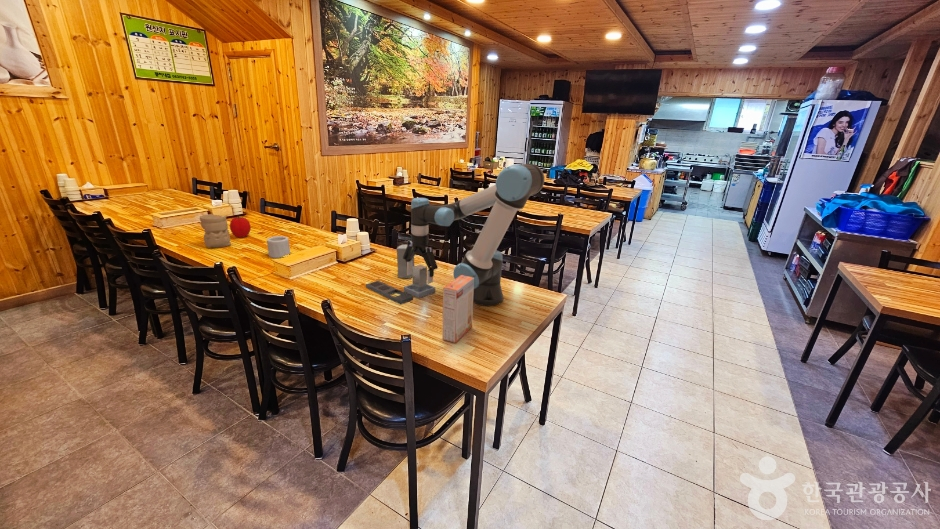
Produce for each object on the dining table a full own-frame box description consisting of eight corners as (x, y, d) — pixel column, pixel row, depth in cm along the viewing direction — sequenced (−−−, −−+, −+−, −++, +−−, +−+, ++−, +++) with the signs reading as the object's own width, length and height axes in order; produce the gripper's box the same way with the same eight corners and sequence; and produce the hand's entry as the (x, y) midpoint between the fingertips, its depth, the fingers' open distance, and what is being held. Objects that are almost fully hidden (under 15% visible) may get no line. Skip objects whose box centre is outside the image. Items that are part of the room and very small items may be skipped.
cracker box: (458, 323, 146) (461, 273, 139) (472, 327, 143) (475, 277, 136) (440, 339, 134) (442, 286, 127) (455, 344, 131) (457, 290, 124)
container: (217, 242, 224) (211, 213, 218) (236, 244, 223) (231, 214, 217) (200, 248, 213) (193, 217, 207) (220, 250, 211) (214, 219, 205)
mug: (294, 255, 210) (292, 238, 207) (276, 259, 202) (273, 242, 198) (280, 250, 217) (278, 233, 213) (262, 254, 208) (259, 237, 205)
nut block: (426, 291, 172) (427, 267, 168) (419, 294, 168) (419, 269, 164) (419, 288, 174) (420, 264, 170) (412, 291, 171) (412, 266, 167)
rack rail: (413, 299, 164) (413, 296, 163) (400, 304, 158) (400, 300, 158) (378, 283, 178) (378, 280, 178) (366, 287, 173) (365, 284, 173)
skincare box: (409, 279, 185) (409, 249, 180) (396, 277, 187) (395, 247, 181) (415, 273, 193) (415, 244, 188) (402, 271, 194) (402, 243, 189)
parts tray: (435, 292, 172) (435, 287, 171) (418, 298, 165) (418, 293, 164) (420, 285, 178) (420, 281, 177) (403, 291, 171) (403, 286, 170)
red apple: (226, 238, 233) (222, 217, 228) (240, 233, 244) (237, 213, 239) (243, 240, 231) (239, 219, 226) (256, 235, 242) (253, 215, 238)
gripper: (446, 238, 157) (445, 284, 164) (407, 226, 172) (407, 269, 179) (433, 241, 152) (432, 288, 159) (394, 229, 167) (395, 273, 174)
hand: (419, 278), depth 169 cm, fingers open, 13 cm apart
